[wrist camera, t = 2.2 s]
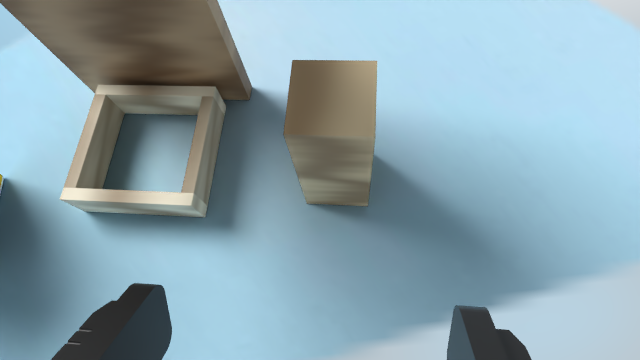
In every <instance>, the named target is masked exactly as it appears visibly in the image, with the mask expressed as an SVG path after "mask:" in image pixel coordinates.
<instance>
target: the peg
mask: <svg viewBox="0 0 640 360" xmlns="http://www.w3.org/2000/svg"><path fill="white" fill-rule="evenodd" d="M376 86H377V61H337V60H292V68H291V76H290V84H289V93H288V101H287V109H286V117H285V125H284V134H283V135H284V137H285V140H286V143H287V146H288V149H289V152H290V155H291V158H292V161H293V164H294V167H295V170H296V173H297V176H298V179H299V181H300V184H301V187H302V190H303V193H304V196H305V199H306V202H307V204H328V205H350V206H368V201H369V192H370V182H371V172H372V163H373V153H374V144H375V126H376Z"/></svg>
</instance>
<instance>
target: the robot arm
mask: <svg viewBox="0 0 640 360" xmlns="http://www.w3.org/2000/svg"><path fill="white" fill-rule="evenodd" d="M171 335H172V326H171V321H170V316H169V310H168V305H167V300H166V295H165V291H164V288H163V286H161V285H155V284H140V283H134V284H132V285H130V286H129V287H128V289H127V290H126V291H125V292H124V293H123V294H122V296H121V297H120V298H119V299H118V300H117V301H110V302H109V303H107V304H106V305H104V306H103V307H101V308H100V309H98V310H97V311H95V312H94V313H93V314H92V315H91V316H90V317H89V318H88V319H87V320H86V321H85V323H84V324H83V325H82V326H81V327H80V328H79V331H76V333H75V334H74V335H73V336H72V337H71V338H70V339H69V340H68V344H65V345H64V346H63V347H62V348H61V349H60V350H59V351H58V352H57V354H56V355H55V356H54V357H53V358H52V359H51V360H162V358H163V356H164V354H165V353H166V351H167V349H168V347H169V344H170V340H171ZM447 360H531V358H530V356H529V354H528V351H527V349H526V347H525V346H524V345H523V344H522V343H521V342H520V341H519V340H518V339H517V338H516V337H515V336H514V335H513V334H512V333H511V332H510V331H509V330H501V329H495V326H494V323H493V321H492V319H491V316H490V314H489V311H488V310H487V308H485V307H472V306H455V308H454V312H453V318H452V324H451V330H450V336H449V343H448V349H447Z"/></svg>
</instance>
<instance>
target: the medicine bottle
mask: <svg viewBox="0 0 640 360" xmlns="http://www.w3.org/2000/svg"><path fill="white" fill-rule="evenodd" d="M3 181H4V177H3V176H2V175H1V174H0V194H1V189H2V185H3Z"/></svg>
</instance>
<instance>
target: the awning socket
mask: <svg viewBox="0 0 640 360" xmlns="http://www.w3.org/2000/svg"><path fill="white" fill-rule="evenodd" d="M0 3H1V4H2V5H3V6H4V7H5V8H6V9H7V10H8V11H9V12H10V13H11V14H12V15H13V16H14V17H15V18H17V19H18V20H19V21H20V22H21V23H22V24H23V25H24V26H25V27H26V28H27V29H28V30H29V31H30V32H31V33H32V34H33V35H34V36H35V37H36V38H37V39H39V40H40V41H41V42H42V43H43V44H44V45H45V46H46V47H47V48H48V49H49V50H50V51H51V52H52V53H53V54H54V55H55V56H56V57H57V58H58V59H59V60H61V61H62V62H63V63H64V64H65V65H66V66H67V67H68V68H69V69H70V70H71V71H72V72H73V73H74V74H75V75H76V76H77V77H78V78H79V79H80V80H81V81H82V82H84V83H85V84H86V85H87V86H88V87H89V88H90V89H91V90H92V91H93V92H94V93H95V95H94V98H93V101H92V104H91V107H90V110H89V113H88V116H87V119H86V122H85V125H84V128H83V131H82V134H81V137H80V140H79V143H78V146H77V149H76V152H75V155H74V158H73V161H72V164H71V167H70V170H69V173H68V176H67V179H66V182H65V185H64V188H63V191H62V194H61V197H60V200H62V201H64V202H66V203H68V204H70V205H72V206H75V207H77V208H79V209H81V210H83V211H87V212H107V213H127V214H147V215H167V216H187V217H206V212H207V206H208V201H209V196H210V190H211V185H212V180H213V175H214V169H215V164H216V159H217V153H218V148H219V143H220V137H221V132H222V127H223V121H224V116H225V111H226V105H225V103H224V101H223V100H250V95H251V89H252V86H251V83H250V81H249V78H248V76H247V73H246V71H245V68H244V66H243V63H242V61H241V58H240V56H239V53H238V51H237V48H236V46H235V43H234V41H233V38H232V36H231V33H230V31H229V28H228V26H227V23H226V21H225V18H224V16H223V13H222V11H221V8H220V6H219V3H218V1H217V0H0ZM125 113H127V114H170V115H198V117H197V122H196V127H195V131H194V136H193V140H192V145H191V150H190V154H189V159H188V164H187V168H186V173H185V177H184V182H183V187H182V191H181V193H178V192H155V191H133V190H110V189H102V188H103V185H104V182H105V178H106V175H107V171H108V168H109V165H110V161H111V158H112V155H113V151H114V148H115V144H116V141H117V138H118V134H119V131H120V128H121V124H122V121H123V117H124V114H125Z"/></svg>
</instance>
